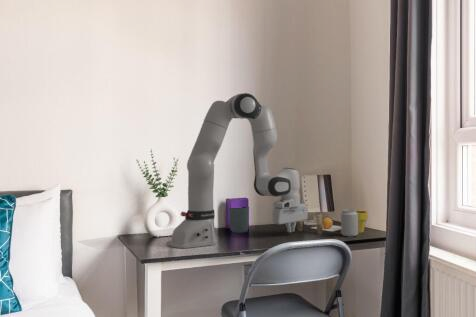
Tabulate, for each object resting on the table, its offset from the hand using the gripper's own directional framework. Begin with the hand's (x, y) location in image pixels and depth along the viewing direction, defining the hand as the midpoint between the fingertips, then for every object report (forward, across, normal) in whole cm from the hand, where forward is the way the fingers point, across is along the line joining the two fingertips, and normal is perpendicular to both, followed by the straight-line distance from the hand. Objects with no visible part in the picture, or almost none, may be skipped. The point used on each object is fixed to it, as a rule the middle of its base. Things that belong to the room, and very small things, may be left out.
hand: (290, 231), depth 219 cm
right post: (+2, -13, +6) cm, 15 cm away
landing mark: (+2, -28, 0) cm, 28 cm away
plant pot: (+2, -30, +16) cm, 33 cm away
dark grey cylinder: (+2, +10, -26) cm, 28 cm away
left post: (+2, -13, -6) cm, 15 cm away
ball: (-1, -26, 0) cm, 26 cm away
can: (+2, -18, +20) cm, 27 cm away
